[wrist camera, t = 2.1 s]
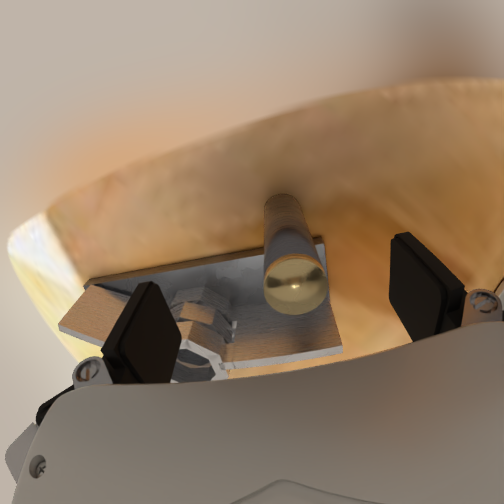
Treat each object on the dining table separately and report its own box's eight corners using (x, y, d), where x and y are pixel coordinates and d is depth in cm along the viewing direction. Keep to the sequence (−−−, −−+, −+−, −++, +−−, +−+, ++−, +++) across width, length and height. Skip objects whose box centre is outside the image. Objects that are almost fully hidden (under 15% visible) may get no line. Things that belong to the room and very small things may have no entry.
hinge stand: (321, 237, 21) (343, 290, 14) (329, 327, 25) (345, 388, 18) (89, 279, 24) (49, 326, 17) (127, 349, 27) (103, 399, 21)
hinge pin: (297, 190, 20) (324, 254, 11) (303, 224, 21) (330, 308, 12) (260, 197, 20) (257, 267, 11) (268, 231, 21) (270, 319, 12)
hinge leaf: (239, 298, 22) (232, 351, 17) (227, 346, 24) (219, 397, 19) (88, 261, 21) (52, 299, 16) (93, 310, 23) (65, 351, 18)
